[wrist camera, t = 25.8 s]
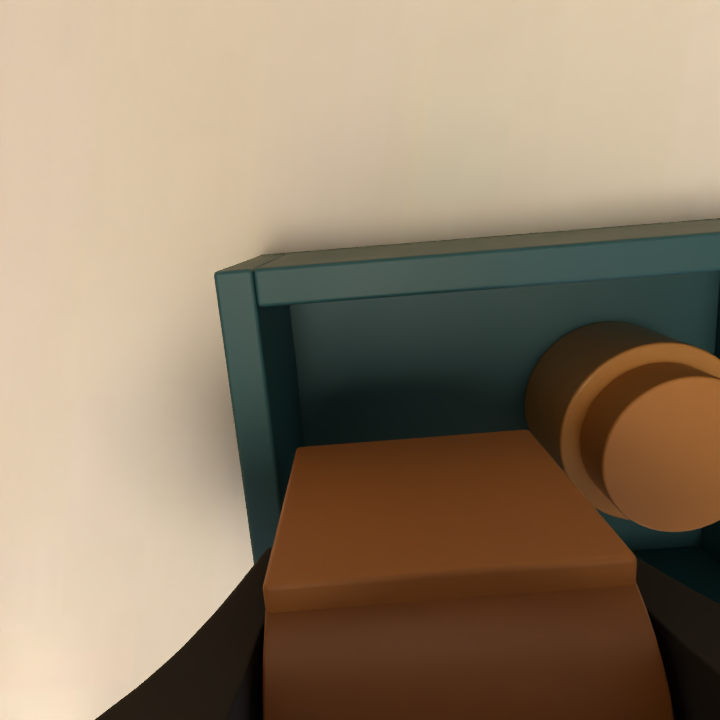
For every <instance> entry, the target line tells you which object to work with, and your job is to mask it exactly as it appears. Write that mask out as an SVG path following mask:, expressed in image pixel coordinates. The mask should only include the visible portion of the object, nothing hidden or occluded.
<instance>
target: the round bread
mask: <svg viewBox="0 0 720 720" xmlns="http://www.w3.org/2000/svg"><path fill="white" fill-rule="evenodd" d="M525 416H526V421H527V425H528V428H529V431H530V433H531V434H532V435H533V436H534V437H535V438H536V440H537V441H538V442H539V443H540V444H541V445H542V447H543V448H544V449H545V450H546V451H547V453H548V454H549V455H550V456H551V457H552V458H553V460H554V461H555V462H556V463H557V464H558V465H559V467H560V468H561V469H562V470H563V471H564V472H565V474H566V475H567V476H568V477H569V478H570V480H571V481H572V482H573V483H574V484H575V485H576V487H577V488H578V489H579V490H580V491H581V492H582V494H583V495H584V496H585V497H586V498H587V499H588V501H589V502H590V503H591V504H592V505H593V507H594V508H596V509H598V510H600V511H602V512H604V513H606V514H609V515H611V516H614V517H618V518H622V519H627V520H632V521H634V522H635V523H637V524H639V525H642V526H644V527H647V528H650V529H654V530H658V531H666V532H683V531H690V530H695V529H699V528H703V527H705V526H708V525H711V524H713V523H715V522H717V521H719V520H720V359H719V358H717V357H716V356H714V355H713V354H711V353H709V352H708V351H706V350H703V349H701V348H698V347H696V346H693V345H690V344H688V343H685V342H682V341H679V340H676V339H674V338H671V337H668V336H665V335H663V334H660V333H657V332H654V331H651V330H649V329H646V328H643V327H640V326H637V325H634V324H630V323H625V322H617V321H613V322H599V323H594V324H590V325H586V326H583V327H581V328H578V329H576V330H574V331H572V332H570V333H568V334H567V335H565V336H563V337H562V338H561V339H559V340H558V341H557V342H555V343H554V344H553V345H552V346H551V347H550V348H549V349H548V350H547V351H546V352H545V353H544V355H543V356H542V357H541V358H540V360H539V361H538V363H537V364H536V366H535V368H534V370H533V372H532V374H531V376H530V379H529V382H528V385H527V389H526V394H525Z"/></svg>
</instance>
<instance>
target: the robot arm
mask: <svg viewBox="0 0 720 720" xmlns="http://www.w3.org/2000/svg"><path fill="white" fill-rule="evenodd" d="M271 551H272V548H268V549H267V550H266V551H265V552H264V553H263V554H262V556H261V557H260V558H259V559H258V561H257V562H256V563H255V564H254V566H253V567H252V568H251V569H250V571H249V572H248V573H247V575H246V576H245V577H244V578H243V580H242V581H241V582H240V583H239V585H238V586H237V587H236V588H235V590H234V591H233V592H232V593H231V594H230V595H229V597H228V598H227V599H226V600H225V601H224V603H223V604H222V605H221V606H220V607H219V608H218V610H217V611H216V612H215V613H214V614H213V615H212V616H211V618H210V619H209V620H208V621H207V622H206V623H205V624H204V625H203V626H202V627H201V628H200V629H199V630H198V631H197V632H196V634H195V635H194V636H193V637H192V638H191V639H190V640H189V641H188V642H187V643H186V644H185V645H184V646H183V647H182V648H181V649H180V650H179V651H178V652H177V653H176V654H175V655H174V656H173V657H171V658H170V659H169V660H168V661H167V662H166V663H165V664H164V665H163V666H161V667H160V668H159V669H158V670H157V671H156V672H155V673H153V674H152V675H151V676H150V677H149V678H148V679H147V680H145V681H144V682H143V683H142V684H141V685H139V686H138V687H137V688H136V689H134V690H133V691H132V692H130V693H129V694H128V695H127V696H125V697H124V698H123V699H121V700H120V701H119V702H117V703H116V704H115V705H113V706H112V707H111V708H109V709H108V710H107V711H106V712H104V713H103V714H102V715H100V716H99V717H98V718H96V719H95V720H263V701H262V688H263V644H264V625H265V610H266V609H265V602H264V594H263V584H264V580H265V576H266V572H267V568H268V564H269V559H270V555H271ZM635 557H636V556H635ZM636 560H637V568H636V583H637V585H638V588H639V591H640V593H641V596H642V598H643V601H644V604H645V606H646V609H647V612H648V615H649V618H650V621H651V624H652V627H653V630H654V633H655V636H656V639H657V643H658V647H659V650H660V654H661V657H662V661H663V665H664V669H665V673H666V678H667V682H668V686H669V691H670V696H671V702H672V707H673V713H674V718H675V720H720V604H719V603H717V602H715V601H713V600H711V599H709V598H707V597H706V596H704V595H702V594H700V593H698V592H696V591H694V590H692V589H690V588H689V587H687V586H685V585H683V584H682V583H680V582H678V581H676V580H674V579H673V578H671V577H669V576H668V575H666V574H664V573H662V572H661V571H659V570H657V569H656V568H654V567H652V566H651V565H649V564H647V563H646V562H644V561H642V560H641V559H639V558H637V557H636Z"/></svg>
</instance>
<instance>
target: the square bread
mask: <svg viewBox="0 0 720 720" xmlns="http://www.w3.org/2000/svg"><path fill="white" fill-rule="evenodd" d="M636 568H637V560H636V557H635V555H634V554H633V552H632V551H631V550H630V549H629V548H628V546H627V545H626V544H625V543H624V542H623V541H622V539H621V538H620V537H619V536H618V535H617V534H616V532H615V531H614V530H613V529H612V528H611V527H610V525H609V524H608V523H607V522H606V521H605V519H604V518H603V517H602V516H601V515H600V514H599V512H598V511H597V510H596V509H595V508H594V507H593V505H592V504H591V503H590V502H589V501H588V499H587V498H586V497H585V496H584V495H583V494H582V492H581V491H580V490H579V489H578V488H577V487H576V485H575V484H574V483H573V482H572V481H571V480H570V478H569V477H568V476H567V475H566V474H565V472H564V471H563V470H562V469H561V468H560V467H559V465H558V464H557V463H556V462H555V461H554V460H553V458H552V457H551V456H550V455H549V454H548V453H547V451H546V450H545V449H544V448H543V447H542V445H541V444H540V443H539V442H538V441H537V440H536V438H535V437H534V436H533V435H532V434H531V433H530V431H529V430H514V431H501V432H488V433H475V434H462V435H449V436H436V437H424V438H411V439H398V440H385V441H372V442H359V443H346V444H333V445H321V446H308V447H299V448H297V450H296V454H295V458H294V462H293V466H292V470H291V474H290V478H289V482H288V486H287V490H286V494H285V498H284V502H283V507H282V511H281V515H280V519H279V523H278V527H277V531H276V535H275V539H274V543H273V547H272V551H271V555H270V559H269V564H268V568H267V572H266V576H265V580H264V584H263V594H264V602H265V609H266V610H265V625H264V644H263V688H262V701H263V720H675V718H674V713H673V707H672V702H671V696H670V691H669V686H668V682H667V678H666V673H665V669H664V665H663V661H662V657H661V654H660V650H659V647H658V643H657V639H656V636H655V633H654V630H653V627H652V624H651V621H650V618H649V615H648V612H647V609H646V606H645V604H644V601H643V598H642V596H641V593H640V591H639V588H638V585H637V583H636Z"/></svg>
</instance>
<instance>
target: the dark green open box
mask: <svg viewBox="0 0 720 720" xmlns="http://www.w3.org/2000/svg"><path fill="white" fill-rule="evenodd" d="M214 278H215V285H216V292H217V299H218V307H219V314H220V321H221V328H222V336H223V343H224V350H225V357H226V365H227V372H228V379H229V386H230V394H231V401H232V408H233V415H234V422H235V430H236V437H237V444H238V451H239V459H240V466H241V473H242V480H243V488H244V495H245V502H246V509H247V516H248V524H249V531H250V538H251V545H252V553H253V560H254V564H255V563H256V562H257V561H258V559H259V558H260V557H261V556H262V554H263V553H264V552H265V551H266V550H267V549H268V548H272V547H273V543H274V539H275V535H276V531H277V527H278V523H279V519H280V515H281V511H282V507H283V502H284V498H285V494H286V490H287V486H288V482H289V478H290V474H291V470H292V466H293V462H294V458H295V454H296V450H297V448H299V447H308V446H321V445H333V444H346V443H359V442H372V441H385V440H398V439H411V438H424V437H436V436H449V435H462V434H475V433H488V432H501V431H514V430H529V428H528V425H527V421H526V416H525V394H526V389H527V385H528V382H529V379H530V376H531V374H532V372H533V370H534V368H535V366H536V364H537V363H538V361H539V360H540V358H541V357H542V356H543V355H544V353H545V352H546V351H547V350H548V349H549V348H550V347H551V346H552V345H553V344H554V343H555V342H557V341H558V340H559V339H561V338H562V337H563V336H565V335H567V334H568V333H570V332H572V331H574V330H576V329H578V328H581V327H583V326H586V325H590V324H594V323H599V322H613V321H617V322H625V323H630V324H634V325H637V326H640V327H643V328H646V329H649V330H651V331H654V332H657V333H660V334H663V335H665V336H668V337H671V338H674V339H676V340H679V341H682V342H685V343H688V344H690V345H693V346H696V347H698V348H701V349H703V350H706V351H708V352H709V353H711V354H713V355H714V356H716V357H717V358H719V359H720V218H719V219H706V220H694V221H681V222H669V223H656V224H644V225H631V226H619V227H606V228H594V229H581V230H568V231H556V232H543V233H531V234H518V235H506V236H493V237H481V238H468V239H456V240H443V241H431V242H418V243H405V244H393V245H380V246H368V247H355V248H343V249H330V250H318V251H305V252H293V253H280V254H267V255H260V256H258V257H256V258H253V259H250V260H247V261H245V262H242V263H239V264H236V265H234V266H231V267H228V268H225V269H223V270H220V271H217V272H215V275H214ZM595 509H596V508H595ZM596 510H597V511H598V512H599V514H600V515H601V516H602V517H603V518H604V519H605V521H606V522H607V523H608V524H609V525H610V527H611V528H612V529H613V530H614V531H615V532H616V534H617V535H618V536H619V537H620V538H621V539H622V541H623V542H624V543H625V544H626V545H627V546H628V548H629V549H630V550H631V551H632V552H633V554H634V555H635V556H636V557H637V558H639V559H641V560H642V561H644V562H646V563H647V564H649V565H651V566H652V567H654V568H656V569H657V570H659V571H661V572H662V573H664V574H666V575H668V576H669V577H671V578H673V579H674V580H676V581H678V582H680V583H682V584H683V585H685V586H687V587H689V588H690V589H692V590H694V591H696V592H698V593H700V594H702V595H704V596H706V597H707V598H709V599H711V600H713V601H715V602H717V603H719V604H720V520H719V521H717V522H715V523H713V524H711V525H708V526H705V527H703V528H699V529H695V530H690V531H683V532H666V531H658V530H654V529H650V528H647V527H644V526H642V525H639V524H637V523H635V522H634V521H632V520H627V519H622V518H618V517H614V516H611V515H609V514H606V513H604V512H602V511H600V510H598V509H596Z"/></svg>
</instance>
